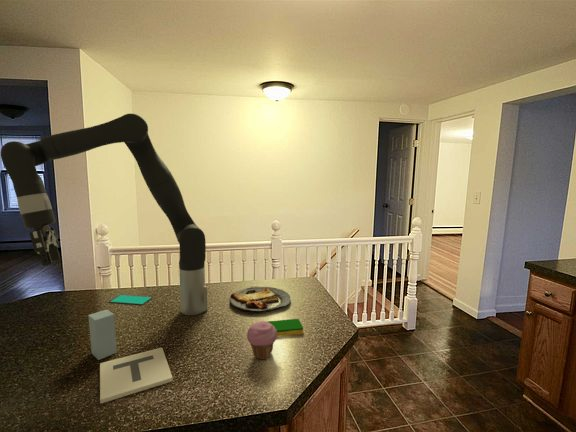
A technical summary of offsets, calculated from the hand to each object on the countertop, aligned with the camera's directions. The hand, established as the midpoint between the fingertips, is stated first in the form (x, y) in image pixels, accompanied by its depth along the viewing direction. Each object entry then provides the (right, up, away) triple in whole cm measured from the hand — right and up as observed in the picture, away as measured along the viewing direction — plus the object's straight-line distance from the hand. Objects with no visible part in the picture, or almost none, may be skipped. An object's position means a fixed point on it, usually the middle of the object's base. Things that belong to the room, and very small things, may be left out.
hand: (52, 262), depth 96 cm
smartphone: (+7, -21, +35) cm, 41 cm away
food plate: (+60, -22, +35) cm, 73 cm away
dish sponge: (+69, -25, +11) cm, 75 cm away
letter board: (+31, -28, -12) cm, 43 cm away
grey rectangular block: (+18, -26, -3) cm, 32 cm away
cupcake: (+64, -27, -3) cm, 70 cm away
